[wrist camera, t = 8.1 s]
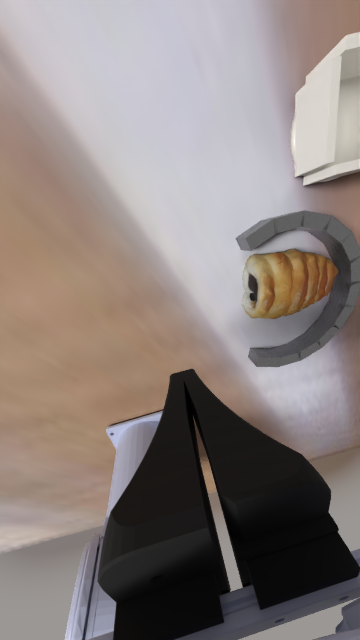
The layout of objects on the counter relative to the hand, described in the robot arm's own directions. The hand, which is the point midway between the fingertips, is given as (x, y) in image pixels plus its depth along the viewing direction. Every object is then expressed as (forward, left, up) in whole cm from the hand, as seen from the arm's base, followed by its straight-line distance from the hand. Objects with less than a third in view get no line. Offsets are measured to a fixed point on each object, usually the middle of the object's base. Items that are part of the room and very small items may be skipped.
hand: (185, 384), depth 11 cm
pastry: (+1, -12, -10) cm, 16 cm away
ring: (0, -14, -10) cm, 17 cm away
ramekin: (+13, -17, -10) cm, 23 cm away
